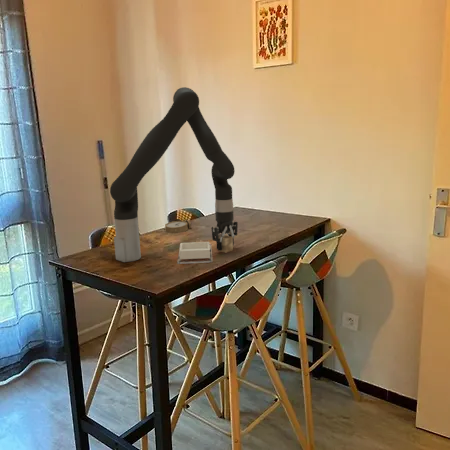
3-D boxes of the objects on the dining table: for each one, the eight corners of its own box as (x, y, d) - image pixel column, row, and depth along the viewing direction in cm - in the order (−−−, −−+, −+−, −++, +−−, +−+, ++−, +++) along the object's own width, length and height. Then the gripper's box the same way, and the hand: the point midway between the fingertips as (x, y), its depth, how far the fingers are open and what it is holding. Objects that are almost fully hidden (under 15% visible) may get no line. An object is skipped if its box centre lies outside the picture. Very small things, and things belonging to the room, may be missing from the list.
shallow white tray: (179, 251, 196) (179, 243, 196) (211, 250, 197) (210, 241, 196) (178, 260, 185) (177, 251, 184) (211, 258, 185) (211, 249, 184)
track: (180, 246, 207) (180, 245, 207) (211, 244, 208) (211, 243, 208) (177, 263, 183) (177, 262, 183) (212, 262, 183) (212, 261, 183)
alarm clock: (160, 226, 233) (177, 215, 245) (161, 235, 235) (179, 224, 247) (178, 228, 227) (195, 217, 239) (179, 238, 229) (196, 226, 241)
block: (225, 252, 196) (225, 238, 194) (218, 250, 199) (217, 237, 197) (233, 250, 199) (232, 236, 197) (225, 248, 202) (224, 235, 200)
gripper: (219, 213, 187) (220, 253, 191) (242, 207, 197) (243, 245, 201) (205, 211, 192) (207, 250, 196) (229, 205, 202) (230, 242, 206)
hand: (225, 248), depth 198 cm, fingers open, 6 cm apart
